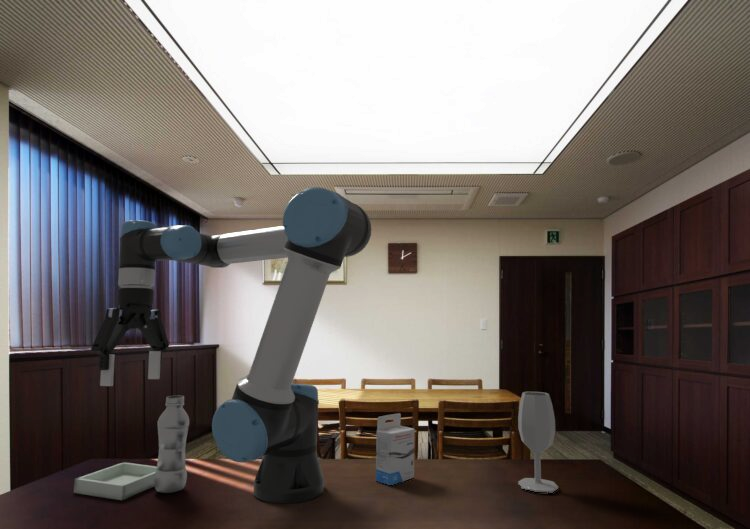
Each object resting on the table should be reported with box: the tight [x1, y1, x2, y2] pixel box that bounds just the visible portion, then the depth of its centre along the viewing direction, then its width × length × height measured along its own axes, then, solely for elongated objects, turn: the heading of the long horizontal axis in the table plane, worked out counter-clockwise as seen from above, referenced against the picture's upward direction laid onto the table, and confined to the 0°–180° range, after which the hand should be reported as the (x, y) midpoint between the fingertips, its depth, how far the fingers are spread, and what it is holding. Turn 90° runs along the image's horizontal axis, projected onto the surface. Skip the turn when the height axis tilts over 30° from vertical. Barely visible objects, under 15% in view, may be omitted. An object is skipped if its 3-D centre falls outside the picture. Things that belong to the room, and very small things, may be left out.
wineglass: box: [517, 391, 559, 494], centre depth 110 cm, size 9×9×21 cm
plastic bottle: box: [154, 395, 190, 494], centre depth 104 cm, size 6×7×20 cm
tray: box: [73, 461, 157, 501], centre depth 106 cm, size 13×13×3 cm
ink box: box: [375, 412, 416, 486], centre depth 113 cm, size 8×5×15 cm, turn 134°
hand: (131, 382), depth 107 cm, fingers open, 13 cm apart
